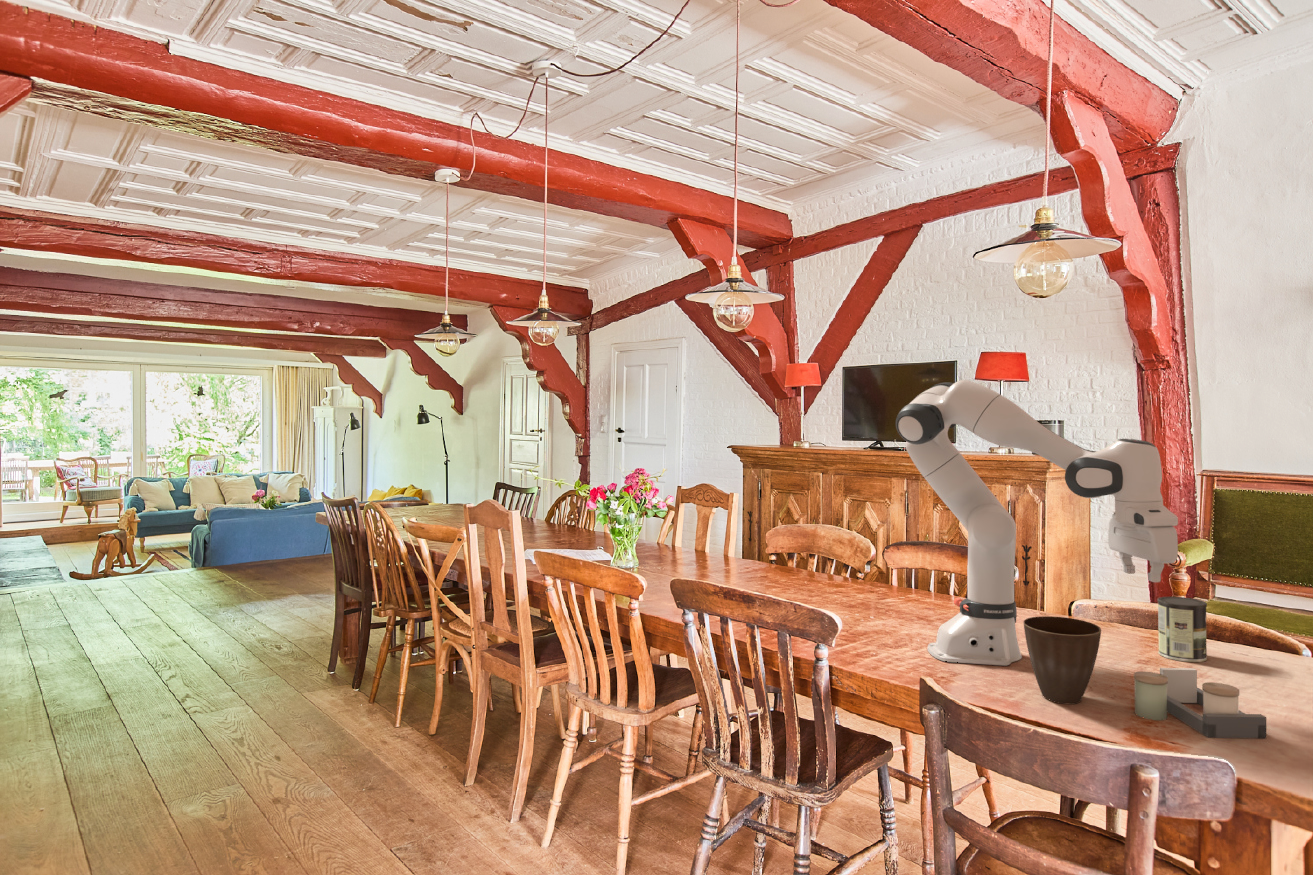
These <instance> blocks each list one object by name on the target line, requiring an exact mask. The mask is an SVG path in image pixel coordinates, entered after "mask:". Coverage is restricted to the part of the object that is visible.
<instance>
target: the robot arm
mask: <svg viewBox="0 0 1313 875" xmlns="http://www.w3.org/2000/svg"><path fill="white" fill-rule="evenodd" d="M956 425H959V426H961V427H963V428H965V429H966V430H968V431H969V432H971V433H972V434H974V435H976V436H977V437H978V438H980V439H981V440H984V441H987V442H989V443H992V444H994V445H997V446H999V447H1005V448H1014V449H1020V450H1025V451H1029V452H1032V453H1034V454H1036V455H1038V456H1039V457H1042V458H1043V459H1045V460H1047V461H1049V462H1050V463H1052V464H1054V465H1056V466H1057V467H1059V468H1061V469H1062V470H1064V471H1065V472H1064V480H1065V484H1066V487H1067V488H1068V489H1069V490H1070V491H1071V492H1072V493H1073V494H1074V495H1077V496H1079V497H1082V498H1085V499H1097V498H1101V497H1105V496H1108V495H1109V496H1111V495H1112V496H1113V497H1114V512H1113V514H1112V516H1111V519H1110V520H1109V522H1108V532H1107V536H1108V537H1107V538H1108V539H1107V544H1108V547H1109V549H1110V550H1112V551H1115V552H1119V559H1120V561H1121V564H1122V566H1123V567H1122V569H1123V571H1122V572H1124V573H1125V574H1130V575H1131V574H1133V575H1134V574H1135V573H1136V565H1134V563H1133V558H1132V557H1135V558H1139V559H1143V560H1146V561H1148V562H1149V566H1151V567H1150V572H1147V579H1148V581H1149V582H1152V583H1160V582H1161V579H1162V575H1161V574H1162V572H1163V569H1164V568H1165V564H1174V563H1176V561H1177V559H1178V555H1179V554H1178V553H1179V546H1178V545H1179V543H1178V542H1179V541H1178V531H1177V530H1176V526H1178V525H1179V517H1178V515H1176V514H1175V513H1174V512H1172V511H1170V510H1169V509H1168V507H1166V506H1165V505H1164V497H1163V495H1162V493H1161V487H1162V486H1161V484H1162V482H1163V472H1162V471H1163V470H1162V461H1161V455H1160V452H1159V449H1158V448H1157V446H1155V444H1153V443H1152V442H1150V441H1146V440H1141V439H1134V438H1120V439H1117V440H1115V441H1114V442H1113V443H1111V444H1110V445H1107V446H1105V447H1104V448H1102V449H1099V450H1097V451H1095V450H1090V449H1085V448H1083V447H1081V446H1079V445H1077V444H1076V443H1074V442H1071V441H1069V440H1068V439H1067V438H1065V437H1062V436H1061V435H1059V434H1057V433H1055V432H1053V431H1051V430H1050V429H1048V428H1046V427H1045V426H1044V425H1042V423H1040V422H1038V421H1037V419H1035V418H1034V417H1032V416H1031V415H1030V414H1028V413H1027V412H1026V411H1025V410H1024V409H1023V408H1022V407H1020V406H1019V405H1018V404H1016V403H1015V402H1013V401H1011V400H1010V399H1009V398H1008V397H1006V396H1004V395H1002V394H1000V393H998V392H996V391H995V390H992V389H991V388H988V387H986V386H984V385H982V384H979V383H976V382H975V381H971V380H967V379H961V380H958V381H956V382H940V383H937V384H934V385H932V386H931V387H930V388H929V389H925V390H924V391H923V392H921V393H919V394H917V396H915V398H913V400H911V401H910V402H909V403H908V404H907V405H904V406H903V407H902V408H901V410H899V412H898V414H897V416H896V418H895V429H896V431H897V433H898V434H899V436H900V438H902V439H903V441H904V442H905V441H906V442H905V450H906V452H907V454H908V456H909V458H910V460H911V461H912V462H913V464H914V466H915V468H916V469H917V470H918V472H919V473H920V475H921V476H922V477H923V478H924V480H925V481H926V482H927V483H928V484H929V486H930V487H931V488H932V489H933V491H934V492H935V493H936V495H937V496H938V498H940V500H941V501H942V502H943V504H944V505H946V507H947V508H948V509H949V510H950V511H951V513H952V514H953V515H954V516H955V517H956V518H957V520H958V521H959V523H961V525H962V526H963V527H964V528H965V530H966V531H967V534H968V535H967V536H968V537H967V567H966V569H967V570H966V571H967V575H966V576H967V580H966V581H967V583H966V585H967V597H966V598H965V599H961V598H960V597H956V598H954V599H953V604H954V605H955V606H957V607H958V608H959V612H958V613H956V614H955V615H954V616H953V617H952V618H950V619H948V620H947V621H945V622H944V623H942V624H941V625H940V626H939V628H938V629H937V634H936V642H930V643H928V644H927V651H928V653H929V654H930V655H931V656H932V657H933V658H935V659H937V660H939V661H942V662H945V661H947V662H946V663H957V662H958V664H959V663H961V664H977V665H991V666H992V665H993V666H1009V665H1010V664H1011V663H1014V662H1017V661H1020V660H1021V659H1022V658H1023V656H1022V653H1021V649H1020V646H1019V641H1018V635H1017V628H1016V623H1017V617H1018V616H1017V613H1018V612H1017V603H1016V602H1017V601H1015V565H1016V564H1015V563H1016V562H1015V561H1016V546H1017V524H1016V521H1015V519H1014V517H1013V516H1012V515H1011V513H1009V512H1008V510H1007V509H1006V508H1005V507H1004V506H1003V504H1002V503H1001V502H1000V500H999V499H998V498H997V497H996V496H995V494H994V493H993V492H992V490H990V488H989V487H988V485H986V484H985V482H984V481H983V480H982V478H981V476H979V474H978V473H977V472H976V470H974V468H973V467H972V466H971V465H970V464H969V462H968V461H967V460H966V458H965V457H964V456H963V455H962V453H960V451H959V450H958V449H957V448H956V446H954V444H953V443H952V441H951V440H950V438H949V434H948V432H949V430H950V429H953V428H954V427H955V426H956Z"/></svg>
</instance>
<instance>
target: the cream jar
mask: <svg viewBox="0 0 1313 875" xmlns="http://www.w3.org/2000/svg"><path fill="white" fill-rule="evenodd" d="M1201 686H1202V687H1201V688H1202V689H1201V690H1203V706H1202V710H1203V711H1202V714H1203V713H1205V714H1239V711H1238V710H1239V696H1240V689H1239V688H1237V687H1236V686H1233V685H1230V684H1226V683H1221V682H1204V683H1202V684H1201Z"/></svg>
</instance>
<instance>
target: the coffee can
mask: <svg viewBox="0 0 1313 875" xmlns="http://www.w3.org/2000/svg"><path fill="white" fill-rule="evenodd" d="M1207 606H1208V603H1207V602H1206V601H1204V600H1200V599H1197V598H1191V597H1182V596H1161V597H1158V598H1157V616H1158V619H1157V620H1158V622H1157V623H1158V625H1157V626H1158V652H1157V653H1158V655H1159V654H1160V656H1161V657H1164V658H1166V659H1169V660H1173V661H1179V662H1186V663H1202V662H1206V661H1207V660H1208V657H1207V656H1208V655H1207V654H1208V653H1207Z"/></svg>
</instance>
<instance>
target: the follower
mask: <svg viewBox="0 0 1313 875" xmlns="http://www.w3.org/2000/svg"><path fill="white" fill-rule="evenodd" d="M1159 674H1161V675H1164V676H1166V677H1167V678H1168V683H1167V695H1168V696H1169V697H1171V698H1173V699H1174V700H1176V701H1178V702H1179V703H1181V704H1198V703H1197V688H1198V669H1196V668H1194V667H1189V668H1188V667H1187V668H1186V667H1178V668H1177V667H1159Z"/></svg>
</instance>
